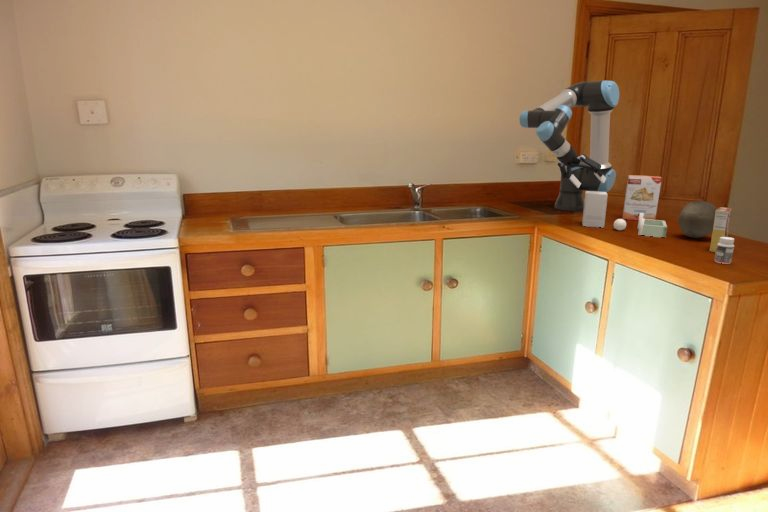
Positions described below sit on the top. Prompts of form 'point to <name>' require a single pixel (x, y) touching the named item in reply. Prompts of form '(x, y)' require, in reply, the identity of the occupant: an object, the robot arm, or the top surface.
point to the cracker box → (641, 197)
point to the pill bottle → (724, 250)
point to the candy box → (720, 226)
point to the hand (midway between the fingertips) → (591, 183)
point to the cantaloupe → (697, 219)
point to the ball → (620, 224)
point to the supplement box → (594, 209)
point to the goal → (651, 227)
